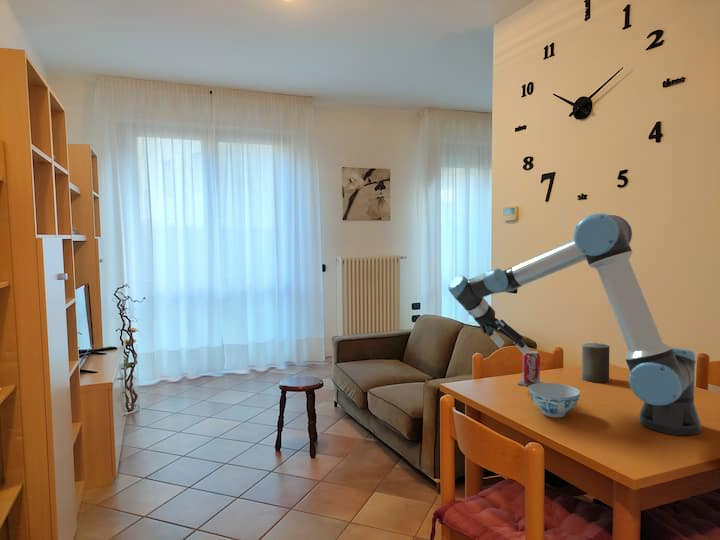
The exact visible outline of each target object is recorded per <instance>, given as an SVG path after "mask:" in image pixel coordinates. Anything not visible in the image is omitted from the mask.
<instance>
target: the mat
mask: <svg viewBox="0 0 720 540" xmlns="http://www.w3.org/2000/svg"><path fill="white" fill-rule="evenodd" d="M539 383H544V381H540V382H539ZM521 385H524V386H523V387H527V386H530V385H533V384H526V383H525V382H524V381H523V380H522V379H521V381H520V382H518V383H517V386H521Z"/></svg>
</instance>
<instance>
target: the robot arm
mask: <svg viewBox="0 0 720 540" xmlns="http://www.w3.org/2000/svg"><path fill="white" fill-rule="evenodd" d="M632 239H633V230H632V227H631V224H629V222H628V221H627V220H626V219H624V218H623V217H621V216H619V215H614V214H613V215H612V214H607V213H595V214H594V213H593V214H590V215H587V216H585V217H583V219H581V220H580V221H579V222H578V223H577V225H576V227H575V229H574V232H573V239H571V240H570V241H568V242H565V243H563V244H560V245H559V246H556V247H554V248H551V249H550V250H547V251H545V252H543V253H540V254H538V255H536V256H534V257H531V258H529V259H527V260H525V261H522V262H520V263H518V264H516V265H514V266H511V267H509V268H507V269H504V270H502V269H500V268H494V269H491V270H488V271H486V272H484V273H482V274H480V275H477V276H475V277H472V278H469V279H468V278H467V277H466V276H464V275H458V276H455V278H453V279H452V280H451V281H450V283H449V284H448V291H449V293H450V294H451V295H452V296H453V298H454V299H455V300H456V301H457V302H458V303H459V304H460V305H461V306H462V307H463V308H464V309H465V310H466V312H467V313H468V315H469V316H471V317H472V318H473V320H474V321H475V322H476V323H477V324H478V326H479V327H480V329H481V331H482V333H483V334H484V335H487V336H488V337H490V338H491V340H492V341H493V342H494V344H495V345H496V346H497V347H498V348H500V349H501V348H502V347H503V346H504V345H505V341H504V340H503V339H502V337H501V336H500V335H499V333H501V334H502V335H503V336H505V337H506V338H508V339H509V340H511V341H512V342H513V345H514V346H516V347H517V349H518V350H519V351H520V352H521V353H522V355H523V354H524V355H526V353H527V352H528V351H529V350H530V348H529V347H528V346H527V345H526V343H525V342H524V341H523V339H524V337H523V336H522V334H520V333H519V332H517V331H516V330H515V329H514V328H512V327H511V326H510V325H508V324H507V322H506V321H504V319H498V318H496V311H495V310H494V308H493V307H492V306H491V305H490V304H489V302H488V301H487V300H486V299H485V297H487V296H490V295H494V294H500V293H507V292H509V293H510V292H513V291H516V290H518V289H519V288H520V287H522V286H525V285H528V284H531V283H532V282H534V281H537V280H540V279H542V278H544V277H545V278H546V277H547V276H549V275H552V274H554V273H557V272H559V271H562V270H565V269H567V268H570V267H572V266H574V265H576V264H579V263H582V262H584V261H587V264H588V266H589V267H590V268H592V269H594V270H596V271H597V274H598V276H599V279H600V281H601V284H602V287H603V289H604V291H605V294H606V296H607V300H608V302H609V305H610V307H611V310H612V312H613V315H614V317H615V320H616V323H617V325H618V327H619V330H620V332H621V335H622V337H623V341H624V343H625V346H626V349H627V353H626V356H625V357H624V358H625V361H626V364H627V367H628V369H629V372H630V373H629V376H628V384H629V387H630V389H631V391H632V393H633V394H634V396H636V397H637V398H638V399H639V400H640V401H642V402H643V405H642V407H641V409H640V412H639V414H638V415H639V416H638V420H639V424H641V425H642V426H644V427H646V428H648V429H650V430H652V431H655V432H658V433H659V432H660V433H664V434H669V435H675V436H694V435H699V433H701V432H702V423H701V420H700V417H699V413H698V411H697V408H696V405H695V378H696V376H695V373H696V372H695V370H696V367H695V366H696V363H697V362H696V356H695V353H694V351H693V350H690V349H684V348H677V347H672V346H670V345H668V344H666V343H664V342H663V339H662V337H661V335H660V333H659V330H658V328H657V326H656V323H655V320H654V318H653V315H652V313H651V311H650V308H649V306H648V304H647V303H648V302H647V301H646V299H645V298H646V297H645V295H644V293H643V291H642V289H641V286H640V283H639V282H638V279H637V276H636V274H635V273H636V272H635V271H634V269H633V266H632V264H631V261H630V258H631V256H632V254H633V251H632V248H631V245H630V244H631V241H632Z"/></svg>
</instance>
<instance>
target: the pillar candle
mask: <svg viewBox="0 0 720 540" xmlns="http://www.w3.org/2000/svg"><path fill="white" fill-rule="evenodd" d="M581 345H582V347H581V350H582V353H581V355H582V356H581V379H582V380H583V381H587V382H592V383H597V384H600V383H601V384H602V383H603V384H604V383H608V382H610V345H608V344H605V343H599V342H598V343H597V342H586V343H581Z"/></svg>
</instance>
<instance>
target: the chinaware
mask: <svg viewBox="0 0 720 540" xmlns="http://www.w3.org/2000/svg"><path fill="white" fill-rule="evenodd" d="M528 391H529V395H530V398H531V400H532V402H533V403H534V405H535V406H536V407H538V409H540V411H542V412H541V413H542V415H545V416H547V417H551V418H563V417H566V414H567V413H569V412H570V411H572V410H573V409H574V408H575V407H576V406H577V404H578V401H580V396H581V391H580V390H579V389H578V388H576V387H573V386H569V385H567V384H562V383H555V382H554V383H553V382H543V383H537V384H533V385H530V386H529V387H528Z"/></svg>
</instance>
